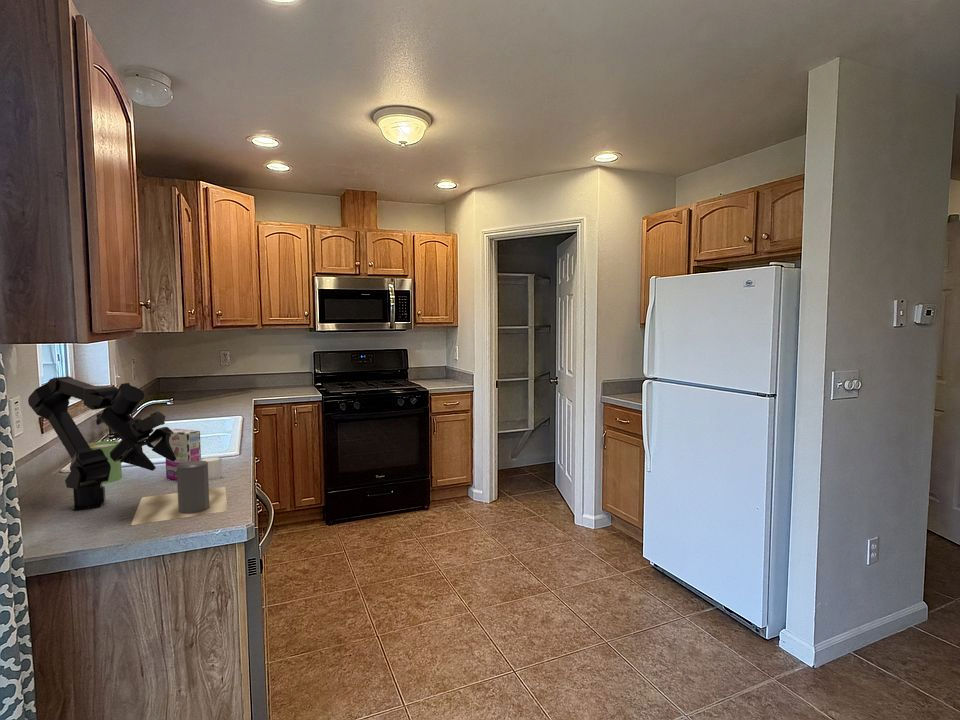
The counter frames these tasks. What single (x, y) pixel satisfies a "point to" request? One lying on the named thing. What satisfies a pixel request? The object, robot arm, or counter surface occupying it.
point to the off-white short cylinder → (213, 467)
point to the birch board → (175, 507)
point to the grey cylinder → (193, 487)
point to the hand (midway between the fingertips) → (165, 464)
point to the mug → (109, 459)
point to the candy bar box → (183, 450)
